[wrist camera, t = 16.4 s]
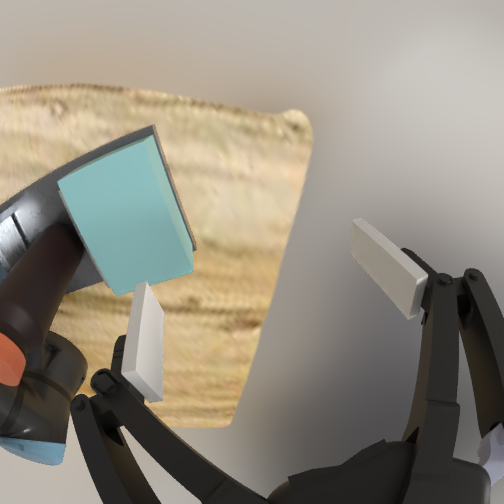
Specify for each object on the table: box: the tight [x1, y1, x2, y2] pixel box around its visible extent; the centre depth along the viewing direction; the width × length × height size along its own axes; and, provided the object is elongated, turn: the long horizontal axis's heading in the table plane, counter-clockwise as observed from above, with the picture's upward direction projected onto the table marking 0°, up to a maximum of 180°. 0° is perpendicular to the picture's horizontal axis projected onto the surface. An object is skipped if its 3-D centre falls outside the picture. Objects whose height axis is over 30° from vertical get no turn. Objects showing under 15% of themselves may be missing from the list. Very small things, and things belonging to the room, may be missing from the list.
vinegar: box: [0, 224, 82, 386], centre depth 21 cm, size 7×7×20 cm
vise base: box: [0, 124, 196, 294], centre depth 28 cm, size 28×16×8 cm, turn 104°
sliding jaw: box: [57, 135, 193, 296], centre depth 27 cm, size 10×14×6 cm
